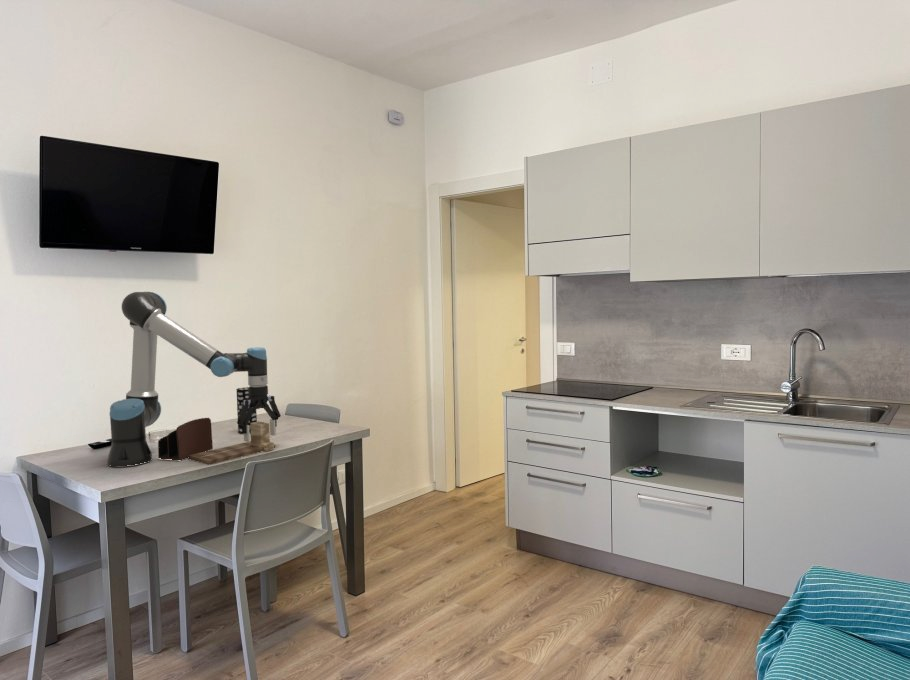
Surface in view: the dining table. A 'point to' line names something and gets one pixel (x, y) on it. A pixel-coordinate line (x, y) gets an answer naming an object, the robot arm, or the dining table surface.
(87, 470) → the dining table surface
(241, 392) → the white-spotted black cylinder
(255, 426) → the gauge
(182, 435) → the letter holder
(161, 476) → the dining table surface
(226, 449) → the board
